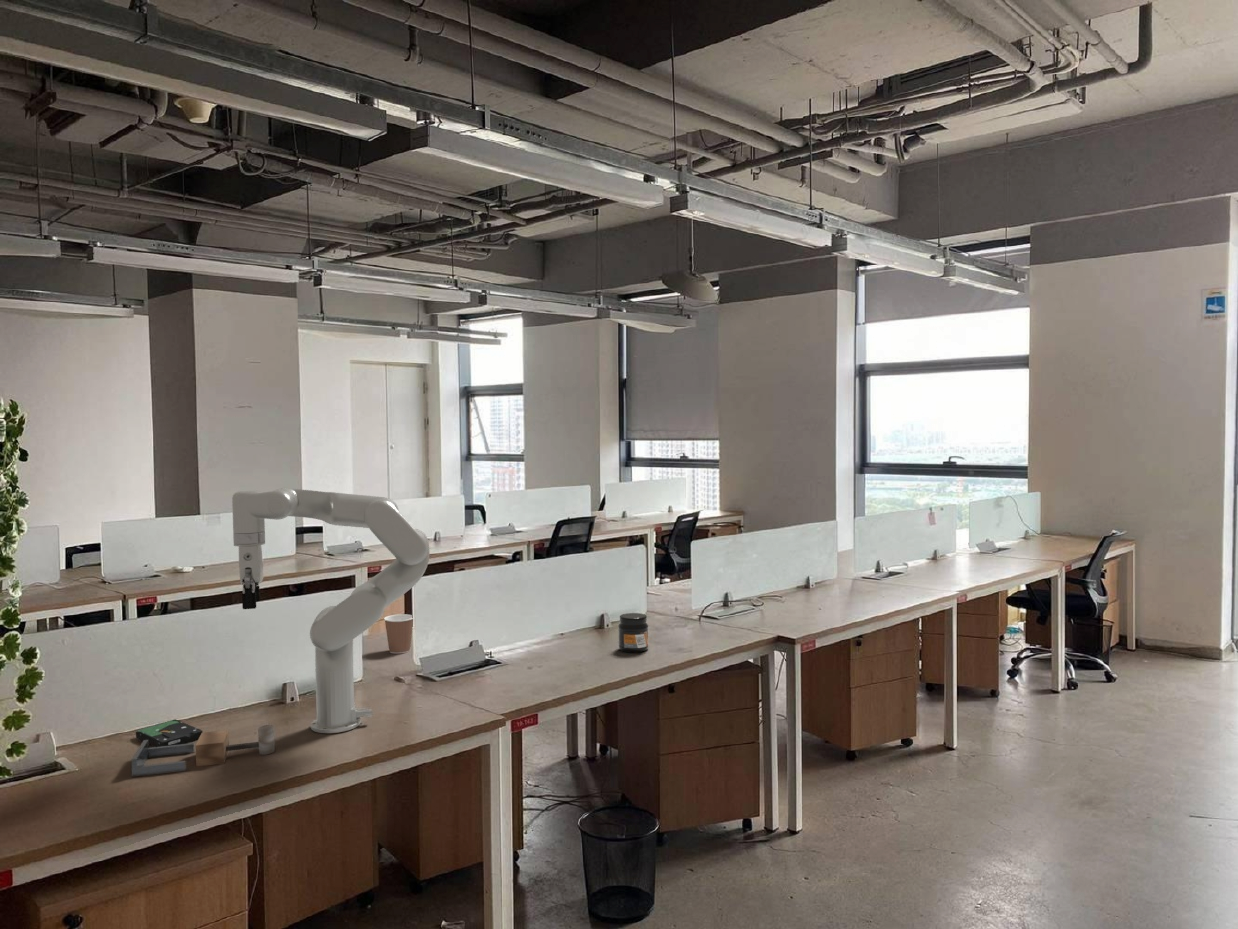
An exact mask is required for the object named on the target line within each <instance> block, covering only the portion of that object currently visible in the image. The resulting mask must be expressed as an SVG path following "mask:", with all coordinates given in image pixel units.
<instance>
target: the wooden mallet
mask: <svg viewBox="0 0 1238 929" xmlns="http://www.w3.org/2000/svg"><path fill="white" fill-rule="evenodd" d="M229 734H230V733H229V729H224V730H215V731H214V730H213V731H205V732H203V733H201V735H200V737H199V739H198V740H197V741H196V744H195V764H196V767H202V766H212V765H221V764H225V762H226V759H227V758H228V757H227V756H228V754H229V752H230V751H238V750H239V751H240V750H249V749H257V748H258V754H259V755H263V756H264V755H270V754H273V753H274V752H275V751H276V750H275V749H276V748H275V747H276V745H275V744H276V743H275V726H274V725H272V724H265V725H261V726H258V728H257V739H258V740H257V741H253V742H245V743H236V744H230V737H229V736H230V735H229Z"/></svg>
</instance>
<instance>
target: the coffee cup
mask: <svg viewBox="0 0 1238 929" xmlns="http://www.w3.org/2000/svg"><path fill="white" fill-rule="evenodd" d="M383 620H384V624H385V632H386V638H387V644H388V649H389V650H388V651H389V653H390V654H395V655H396V654H397V655H400V654H406V653H409V652H411V647H412V637H413V636H412V635H413V628H412V626H413V625H414V618H412V614H403V613H399V614H392V615H387V616H385V617H384V618H383ZM413 627H414V626H413Z"/></svg>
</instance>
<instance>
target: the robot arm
mask: <svg viewBox="0 0 1238 929" xmlns="http://www.w3.org/2000/svg"><path fill="white" fill-rule="evenodd" d="M231 498H232V501H231V502H232V531H233V535H232V536H233V546H234V547H238V569H239V580H240V581H239V582H240V584H241V585H242V593H241V598H242V599H241V602H242V603H241V606H242V609H243V610H253V609H256V608H257V602H259V601H260V597H261V596H260V594H261V593H260V584H261V583H262V582H263V580H264V565H263V564H264V563H263V550H262V546H264V545H265V544H266V531H265V530H266V528H265V527H266V523H265V519H266V520H284V519H285V518H288V517H295V518H306V519H313V520H319V521H323V522H325V523H327V524H329V525H332V526H338V527H339V526H340V527H351V528H352V527H355V528H363V529H369V530H370V531H371V533H372V534H373V535H374V537H376V538H377V540H379V541H380V542H381V544H382V545H383V546H384V547H385V548H386V549H387V550H388V551H389V553H391V554H392V555H393V557H395V559H394V560H393V561H392V562H391V563H390V564H389V565H387V566H386V567H385V568H384V569H382V570H381V571H380V572H378V573H377V574H375V575H374V576H373V577H371V578H370V579H368V580H367V581H365V582H364V583H362V584H361V585H359V586H357V587H356V588H354V589H353V591H352V592H351V594H350V595H349V596H348V597H346V598H344V600H342V601H341V602H339V603H338V604H337V605H332V606H331V605H330V606H328V607H325V608H323V609H322V610H321V611H320V612H319V613H318V614H317V616H316V617H315V618H314V621H313V622H312V624H311V626H310V629H309V636H310V637H309V638H310V641H311V643H312V644H313V646H314V648H315V649H314V652H315V653H314V654H315V655H314V658H315V660H314V661H315V663H314V664H315V671H314V672H315V702H316V705H315V706H316V719H314V720H313V721H311V723H310V729H311V731H313V732H315V733H319V734H337V733H343V732H347V731H352V730H353V729H356V728H357V727H359V726H360V725H361V723H362V722H361V721H362V720H361V718H364V717H365V718H370V717H373V709H372V708H369V709H368V707H362V708H359V707H356V706H357V705H356V703H355V684H354V683H355V681H354V679H355V677H354V639H356V638H357V637H359V636H360V635H362V634H363V633H364V632H365V631H367V630H368V629H370V628H371V627H373V626H374V625H375V624H376V623H378V621H379V620H380V619H381V618H382V617H383V614H384V613H385V610H386V609H387V608H388V607H390V605H392V604H393V603H394V602H395V601H397V600H398V599H400V598H401V597H402V596H403V595H405V594H406V593H407V592H408V591H410V590H411V589H412V588H413V587H415V585H417V583H418V582H419V581H420V580H421V579H422V577H423V575H424V574H425V573H426V570H427V568H428V564H429V561H430V542H429V539H428V537H427V535H426V533H424V532H423V531H422V530H420V529H418V528H415V527H413V526H412V525H411V523H410V522H409V521H408V520H407V519H406V518H405V516H404V515H402V513H401V512H400V511H399V507H398V505H397V503H396V502H395V501H394V500H393V499H392V498H388V497H384V496H374V495H364V494H353V493H343V492H333V491H330V492H329V491H318V490H311V489H310V490H309V489H301V488H288V487H286V488H285V487H282V488H278V489H275V490H272V491H265V492H264V491H263V492H262V491H260V490H241V491H237V492H234V493H233V495H232V497H231Z"/></svg>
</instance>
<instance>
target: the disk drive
mask: <svg viewBox="0 0 1238 929" xmlns="http://www.w3.org/2000/svg"><path fill="white" fill-rule="evenodd" d="M201 733H204V732H203V730H202V729H200V728H197V727H195V726H192V725H190V724H187V723H185V722H183V721H181V720H178V719H171V720H167V721H163V722H159V723H155V724H154V725H150V726H147V727H144V728H138V729H137V731H135V738H136V739H137V740H139V741H142V742H143V741H144V740H148V743H149V746H151V747H161V746H171V745H180V744H186V743H187V744H189V743H195V742H197V741H198V739H199V737H200V735H201Z"/></svg>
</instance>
